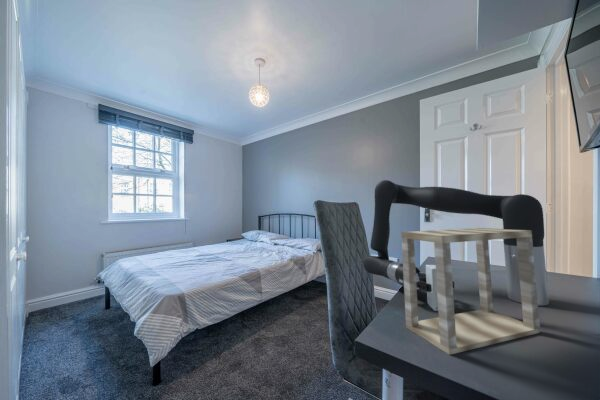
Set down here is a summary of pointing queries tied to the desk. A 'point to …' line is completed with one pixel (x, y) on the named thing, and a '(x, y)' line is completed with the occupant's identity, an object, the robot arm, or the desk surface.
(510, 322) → the oak counter shelf
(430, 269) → the skincare box
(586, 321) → the desk surface
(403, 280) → the robot arm
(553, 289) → the desk surface
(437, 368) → the desk surface
